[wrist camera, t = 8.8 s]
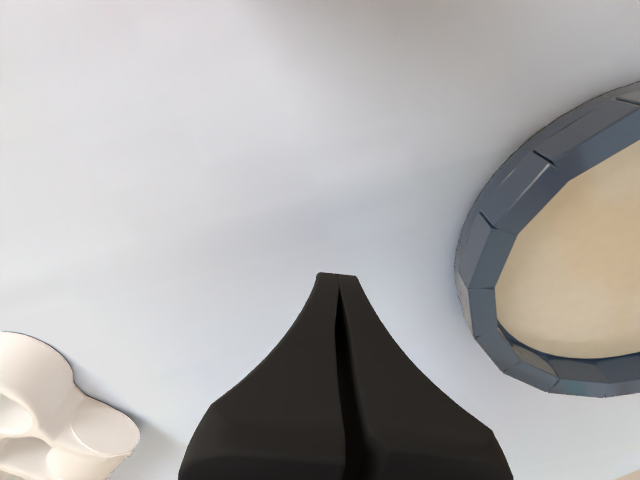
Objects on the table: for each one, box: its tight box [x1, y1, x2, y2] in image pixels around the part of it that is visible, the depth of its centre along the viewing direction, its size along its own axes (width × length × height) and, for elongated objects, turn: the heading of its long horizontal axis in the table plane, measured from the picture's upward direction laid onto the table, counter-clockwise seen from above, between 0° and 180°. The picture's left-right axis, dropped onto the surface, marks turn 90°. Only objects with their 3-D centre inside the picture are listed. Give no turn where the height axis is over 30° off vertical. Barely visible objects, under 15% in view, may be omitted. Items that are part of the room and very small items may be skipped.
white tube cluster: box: [0, 332, 140, 480], centre depth 25 cm, size 3×18×15 cm
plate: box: [454, 81, 640, 398], centre depth 17 cm, size 16×16×3 cm
